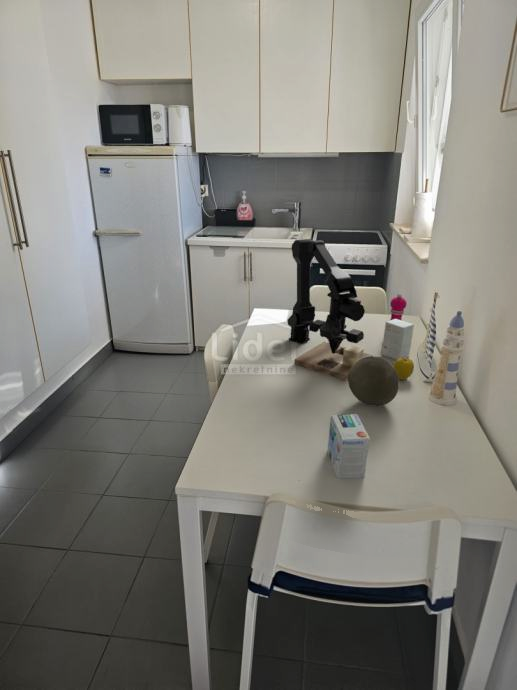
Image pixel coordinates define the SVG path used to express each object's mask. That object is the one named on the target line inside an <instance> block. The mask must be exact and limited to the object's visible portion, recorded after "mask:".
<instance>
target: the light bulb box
mask: <svg viewBox="0 0 517 690" xmlns="http://www.w3.org/2000/svg"><path fill="white" fill-rule="evenodd" d="M328 431H329V433H328V440H327V441H328V443H327V451H326V452H327V455H328V457H329V459H330V463H331V465H332V468H333V471H334V474H335V477H336V478H337V479H348V478H349V479H350V478H351V479H355V478H358V479H359V478H360V479H361V478H365V474H366V465H367V459H368V453H369V447H370V440H371V438H370V436H369V434H368V432H367V430H366V428H365V427H364V425H363V423H362V420H361V419H360V417H359V415H358V414H356V413H353V414H331V415H330V424H329V430H328Z"/></svg>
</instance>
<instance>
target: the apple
mask: <svg viewBox="0 0 517 690" xmlns="http://www.w3.org/2000/svg"><path fill="white" fill-rule="evenodd" d="M392 366H393V368H394V369H395V371H396V372H397V374H398V378H399V380H407V379H409V377H411V376H412V374H413V372H414V369H415V365H414V361H413V360H411V358H409V357H407V358H399V359H398V360H396V361H395V362H394V363H393V365H392Z"/></svg>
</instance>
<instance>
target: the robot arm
mask: <svg viewBox="0 0 517 690" xmlns="http://www.w3.org/2000/svg"><path fill="white" fill-rule="evenodd" d="M291 253H292V258H293V259H294V262H295V263H296V302H295V304H294V305H293V307H292V314H291V315H290V316H289V317H288V319H287V325H288V326H289V327H290V337H288V341H290V342H293V343H297V344H304V343H306V342H307V341H309V340H311V338H310V332H313V333H318V331H319V335H320V337H322V338H326V339H327V342H328V343H329V344H330V348H331V351H332V353H333V354H335V353H336V351H337V349H338V347H339V346H341V344H342V342H343V341H344V340H345V339H346V340H347V342H349V343H353V344H358V343H359V342H361V341H362V340H364V338H365V334H364V331H362V330H360V329H359V330H358V329H355V328H352V329H351V330H350V331H349V330H346V329H347V325H346V321H347V319H349V320H351V321H353V322H359V321H360V320H361V319H362V318H363V317H364V316H365V312H366V309H365V306H364V305H362V304H361V303H362V301H361V300H360V299H356V298H358V294H357V289H356V288H355V284H354V281H353V278H352V277H351V276H350V275H349V273H348V272H347V271H345V270H343V269H342V268H340V267H339V265H338V264H337V263H336V261H335V259H334V258H333V257H332V255H331V253H330V252H329V250H328V249H327V247H326V243H325V242H324V240H322V239H319V240H318V239H317V240H313V239H312V238H305V239H295V240H294V241H293V242H292V244H291ZM314 259H315V260H316V261H317V264H318V265H319V266H320V268H321V269H322V271H323V272H324V275H325V276H326V277H325V278H326V285H327V287H328V290H329V292H328V293H327V296H328V297H329V298H330V304H329V313H328V314H327V316H326V320H320V319H316V320H315V318H316V307H315V306H314V305H313V304H312V302H311V264H312V263H311V262H312V261H313V260H314Z"/></svg>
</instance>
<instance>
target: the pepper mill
mask: <svg viewBox="0 0 517 690" xmlns="http://www.w3.org/2000/svg"><path fill="white" fill-rule="evenodd" d="M389 305H390V307H391V308H390V313H391V315H390V319H389V321H390V320H393V319H398V320H401V321H403V320H402V318H403V317H402V316H403V315H404V314H405V309H406V307H407V300H406V299H405V298H404V297H403V295H402V293H398V294H397V295H396V296H395V297H393V298H392V299H391V300H390V304H389Z"/></svg>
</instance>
